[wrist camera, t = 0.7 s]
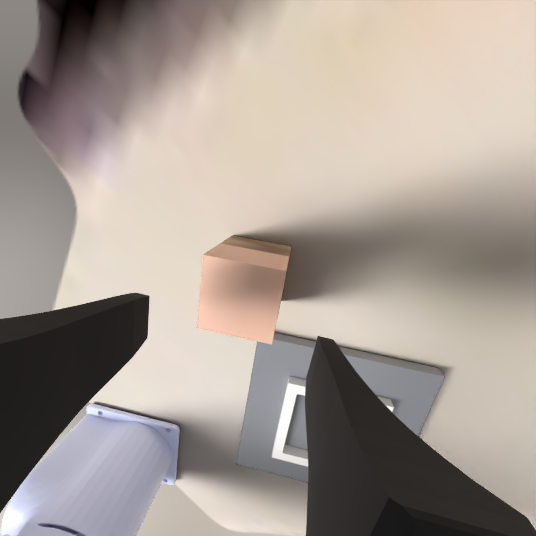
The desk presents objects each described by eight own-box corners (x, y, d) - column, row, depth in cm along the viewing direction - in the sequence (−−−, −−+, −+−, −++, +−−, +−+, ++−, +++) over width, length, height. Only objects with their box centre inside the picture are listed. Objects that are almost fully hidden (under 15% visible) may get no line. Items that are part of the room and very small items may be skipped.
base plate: (238, 453, 26) (233, 472, 24) (260, 329, 21) (256, 341, 20) (384, 491, 24) (390, 513, 23) (438, 367, 20) (450, 384, 18)
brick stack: (226, 289, 21) (196, 328, 15) (232, 235, 19) (202, 254, 14) (281, 300, 20) (271, 344, 15) (291, 246, 19) (285, 271, 13)
